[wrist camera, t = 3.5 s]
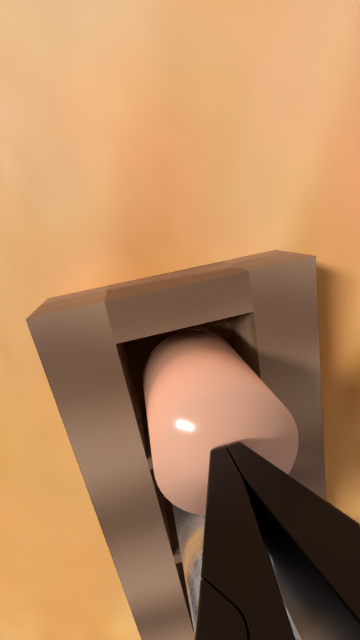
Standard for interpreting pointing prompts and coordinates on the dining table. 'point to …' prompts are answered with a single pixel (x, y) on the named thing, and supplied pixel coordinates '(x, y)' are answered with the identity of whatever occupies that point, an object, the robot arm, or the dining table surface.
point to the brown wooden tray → (132, 427)
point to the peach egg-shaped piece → (208, 414)
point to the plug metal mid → (196, 557)
